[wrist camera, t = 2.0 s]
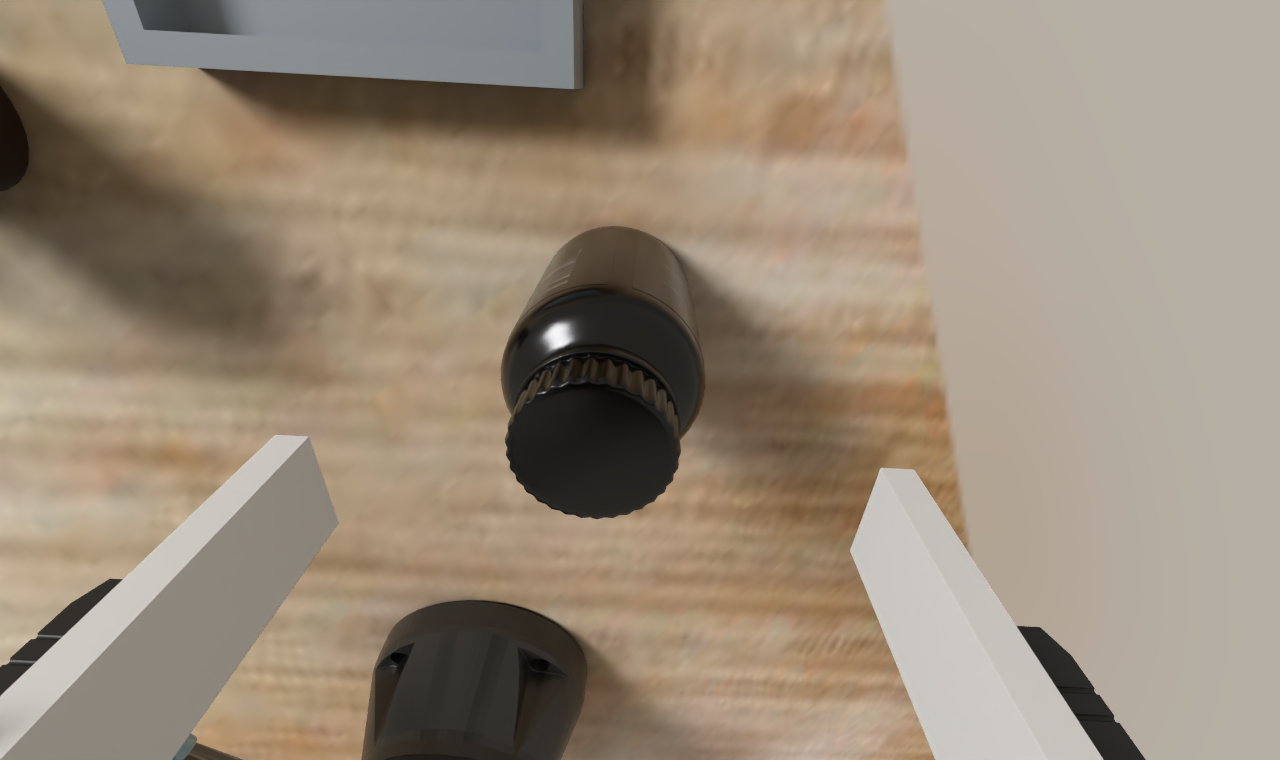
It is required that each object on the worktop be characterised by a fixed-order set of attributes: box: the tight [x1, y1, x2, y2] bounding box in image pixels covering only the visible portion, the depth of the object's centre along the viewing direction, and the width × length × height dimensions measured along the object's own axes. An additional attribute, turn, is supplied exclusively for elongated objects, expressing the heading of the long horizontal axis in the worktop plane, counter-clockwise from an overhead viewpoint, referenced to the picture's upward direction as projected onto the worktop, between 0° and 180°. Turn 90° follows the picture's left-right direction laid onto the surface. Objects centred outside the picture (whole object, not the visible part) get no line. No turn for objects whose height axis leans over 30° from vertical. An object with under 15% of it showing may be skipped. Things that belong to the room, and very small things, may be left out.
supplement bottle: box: [501, 226, 705, 519], centre depth 19 cm, size 7×7×12 cm
